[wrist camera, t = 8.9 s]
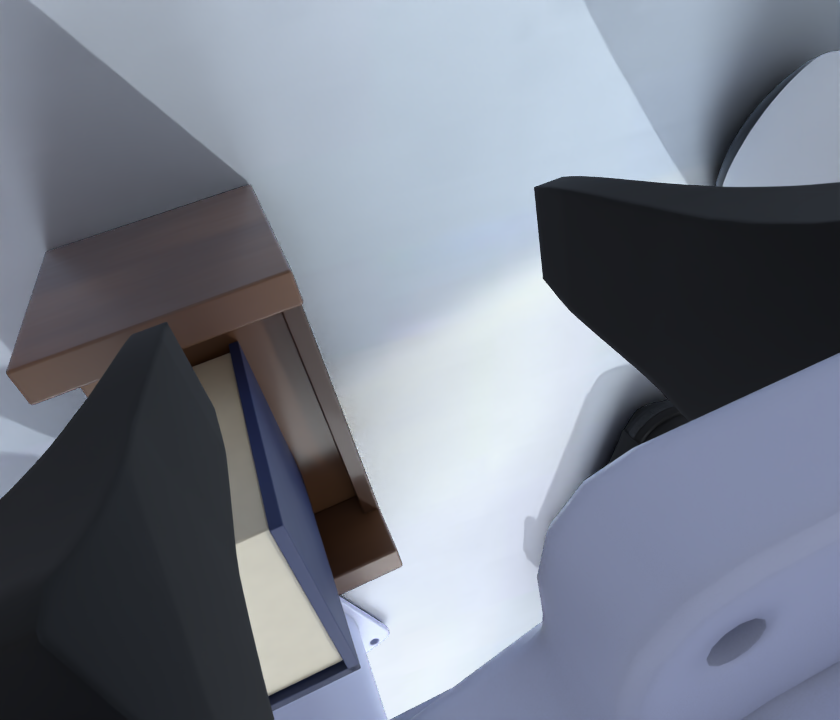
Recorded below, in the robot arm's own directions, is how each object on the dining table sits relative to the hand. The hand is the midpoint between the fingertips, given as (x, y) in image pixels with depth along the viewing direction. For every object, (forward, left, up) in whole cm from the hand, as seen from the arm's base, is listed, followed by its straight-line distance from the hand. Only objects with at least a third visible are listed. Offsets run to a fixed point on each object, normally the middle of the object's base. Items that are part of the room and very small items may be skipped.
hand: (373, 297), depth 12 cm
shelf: (-6, -5, -10) cm, 13 cm away
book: (-7, -5, -6) cm, 10 cm away
